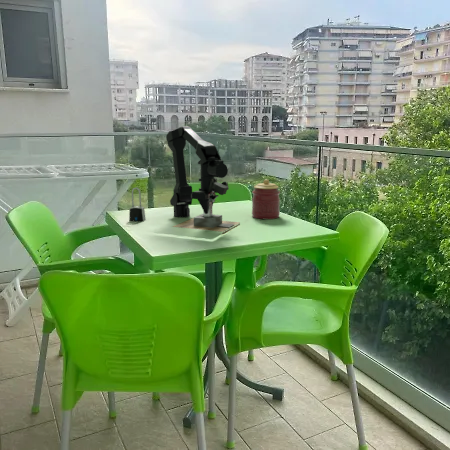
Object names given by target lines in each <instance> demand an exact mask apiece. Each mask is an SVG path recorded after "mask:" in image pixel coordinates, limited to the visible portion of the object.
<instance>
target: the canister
mask: <svg viewBox="0 0 450 450" xmlns="http://www.w3.org/2000/svg"><path fill="white" fill-rule="evenodd" d="M253 188H254V189H253V190H252V191H251V193H252V198H251V200H252V201H251V202H252V205H251V207H252V209H251V215H252V218H255V219H259V220H273V219H278V218H279V217H280V214H281V212H280V204H281V203H280V200H281V198H280V194H281V191H280V190H279V186H278V185H277V184H276V183H271V182H270V180H269V179H264V180H263V182H262V183H261V182H260V183H259V182H258V183H257V184H255V185H254V186H253Z"/></svg>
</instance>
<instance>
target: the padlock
mask: <svg viewBox="0 0 450 450" xmlns="http://www.w3.org/2000/svg"><path fill="white" fill-rule="evenodd" d="M135 190H137V191H138V201H139V205H136V206H135V205H134V204H135V201H134V191H135ZM145 212H146V211H145V207H144V206H142V195H141V189H139V187H133V188H132V190H131V207H129V211H128V214H129V216H128V222H145V221H146V219H147V218H146V213H145Z"/></svg>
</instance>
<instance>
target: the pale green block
mask: <svg viewBox="0 0 450 450" xmlns="http://www.w3.org/2000/svg"><path fill="white" fill-rule="evenodd" d="M212 202H214V203H215V202H216V199H211V200H210V201H209V207H208V214H205V213H204V211H203V210H202V211H203V213H202V214H203V215H204V217H207V218H211V217H212V214H213V206H212Z"/></svg>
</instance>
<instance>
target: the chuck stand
mask: <svg viewBox="0 0 450 450" xmlns="http://www.w3.org/2000/svg"><path fill="white" fill-rule="evenodd" d="M238 226H241V222H240V221H228V220H223V215H222V214H214V213H212V217H211V218H207V217H204V215H203V213H201V214H199V215H196V216H194V217H193V218H190V219H187V220H185V221H182V222H180V223H178V224H175V225H173V226H172V227H174V228H181V229H193V230H202V231H211V232H212V231H214V232H222V233H221V234H222V235H224V234H226V233H228V232H229V231H232V230H233V229H235V228H237V227H238Z"/></svg>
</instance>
